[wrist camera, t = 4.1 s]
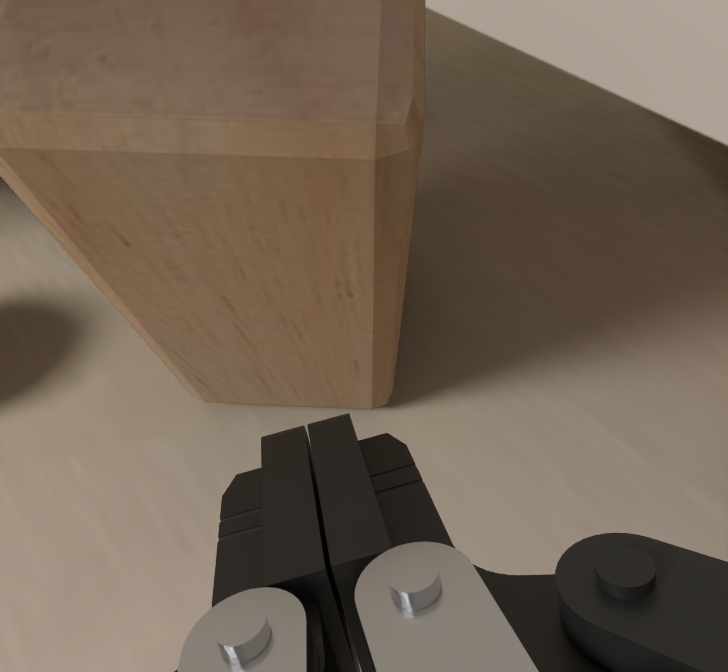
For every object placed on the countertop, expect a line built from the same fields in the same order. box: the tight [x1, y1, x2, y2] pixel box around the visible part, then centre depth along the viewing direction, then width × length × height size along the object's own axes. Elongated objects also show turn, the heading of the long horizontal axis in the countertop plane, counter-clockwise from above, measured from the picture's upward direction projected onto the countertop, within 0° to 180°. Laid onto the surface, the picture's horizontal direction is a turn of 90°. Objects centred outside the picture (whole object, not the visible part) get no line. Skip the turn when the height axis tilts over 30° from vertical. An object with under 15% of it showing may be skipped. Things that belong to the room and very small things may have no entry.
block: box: [0, 0, 425, 409], centre depth 23 cm, size 10×10×20 cm
